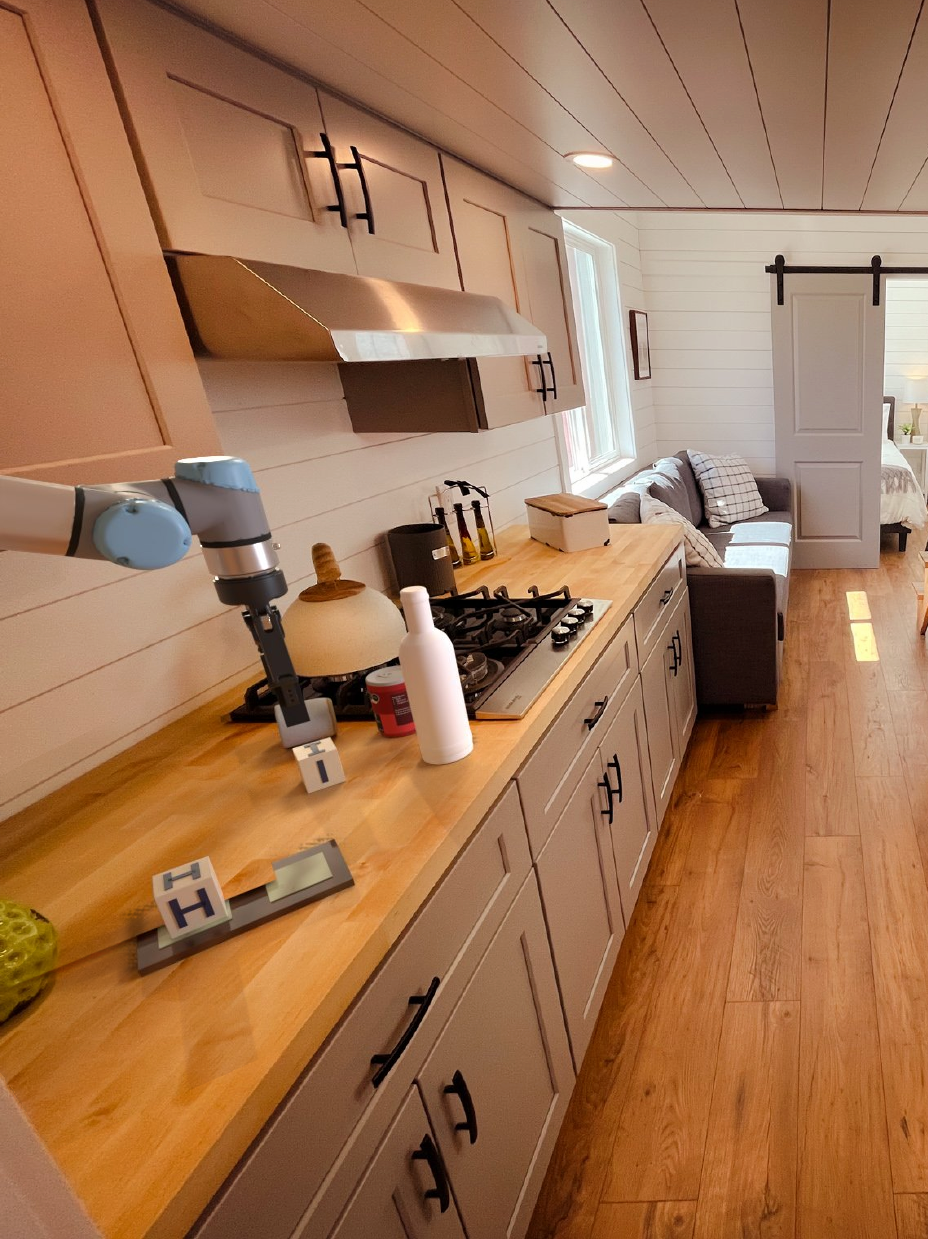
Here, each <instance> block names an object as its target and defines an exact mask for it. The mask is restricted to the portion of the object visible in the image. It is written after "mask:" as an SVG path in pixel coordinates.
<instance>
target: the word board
mask: <svg viewBox="0 0 928 1239" xmlns="http://www.w3.org/2000/svg"><path fill="white" fill-rule="evenodd" d="M271 866H272V869H273V872H274V876H275V878H276V879H273V880H271V881H269V882H266V883H264V884H261V885H258V886H256V887H254V888H251V889H249V890H246V891H244V892H241V893H239V894H237V895H234V896H231V897H229V898H227V899H224V900H225V905H226V910H227V914H228V916H227V917H224V918H222V919H219V920H217V921H215V922H212V923H210V924H207V925H205V926H202V927H200V928H198V929H195V930H193V931H190V932H188V933H186V934H183V935H181V936H178V937H176V938H174V939H171V937H170V935H169V933H168V930H167V928H166V926H165V923H163V924H162V925H159V926H157V927H154V928H151V929H149V930H147V931H144V932H142V933H139V934H137V935H135V937H136V938H135V939H136V960H137V972H138V974H139V976H140V978H143V977H145V976H148V975H150V974H153V973H154V972H156V971H159V970H161V969H163V968H166V967H168V966H171V965H173V964H175V963H178V962H179V961H183V960H184V959H187V958H189V957H191V956H194V955H196V954H198V953H201V952H203V951H205V950H207V949H209V948H212V947H214V946H217V945H219V944H221V943H223V942H226V941H228V940H231V939H232V938H235V937H238V936H240V935H242V934H245V933H248V932H249V931H251V930H254V929H256V928H259V927H261V926H263V925H265V924H267V923H270V922H272V921H275V920H276V919H279V918H281V917H284V916H286V915H289V914H291V913H293V912H295V911H298V910H300V909H302V908H305V907H307V906H309V905H311V904H314V903H316V902H319V901H321V900H323V899H326V898H328V897H330V896H333V895H334V894H335V895H336V894H337V893H339V892H342V891H344V890H346V889H348V888H351V887H353V886H355V885H356V884H355V880H354V877H353V876H352V875H353V874H352V873H351V871H350V869H349V866H348V865H347V862H346V860H345V858H344V856H343V854H342V851H341V850H340V847H339V845H338V843H337V841H336V839H335V838H333V839H330V840H327V841H325V842H322V843H320V844H317V845H315V846H312V847H309V848H307V849H304V850H302V851H299V852H296V853H294V854H290V855H289V856H285V857H283V858H281V859H278V860H276V861H273V862H271Z"/></svg>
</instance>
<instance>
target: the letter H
mask: <svg viewBox="0 0 928 1239" xmlns="http://www.w3.org/2000/svg"><path fill="white" fill-rule="evenodd" d="M151 882H152V894H153V900H154V902H155V905H156V907H157V910H158V912H159V915H160V917H161V919H162V921H163V924H165V926H166V928H167V930H168V933H169V935H170V937H171V939H174V938H176V937H178V936H181V935H183V934H186V933H188V932H190V931H193V930H195V929H198V928H200V927H202V926H205V925H207V924H210V923H212V922H215V921H217V920H219V919H222V918H224V917H227V916H228V914H227V910H226V905H225V900H226V899H225V898H224V893H223V890H222V888H221V885H220V882H219V878H218V877H217V874H216V872H215V869H214V866H213V864H212V862H211V859H210V856H209V855H208V856H204V857H201V858H199V859H196V860H193V861H190V862H187V863H184V864H182V865H179V866H177V867H173V868H170V869H168V870H165V871H163V872H162V871H161V872H159V873H157V874H155V875H152V876H151Z"/></svg>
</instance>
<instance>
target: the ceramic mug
mask: <svg viewBox="0 0 928 1239" xmlns="http://www.w3.org/2000/svg"><path fill="white" fill-rule="evenodd" d="M304 702H305V705H306V708H307V711H308V714H309V718H310V721H309V722H305V723H302V724H298V725H295V726H291V727H288V728H287V726H286V723H285V720H284V717H283V714H282V711H281V708H280V705H279V704H276V705H274V717H275V720H276V725H277V729H278V735H279V737H280V741H281V746H282V748H283V749H289V748H292V747H293V748H294V747H298V746H302V745H305V744H309V743H313V742H316V741H319V740H323V739H326V738H329V737H330V738H331V737H332V736H334V735H335V736H336V734H338V732H339V726H338V722H337V718H336V713H335V710H334V705H333V701H332V699H331V698H329V697H316V698H312V699H305V700H304Z"/></svg>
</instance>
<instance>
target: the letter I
mask: <svg viewBox="0 0 928 1239" xmlns="http://www.w3.org/2000/svg"><path fill="white" fill-rule="evenodd" d="M292 752H293V756H294V759H295V762H296V766H297V769H298V772H299V776H300V778H301V781H302V783H303V786H304V788H305V790H306V792H307V794H308V795H309V794H312V793H314V792H317V791H321V790H324V789H326V788H329V787H332V786H335V785H338V784H341V783H344V782H346V781H347V779H346V775H345V773H344V768H343V766H342V765H343V764H342V761H341V758H340V754H339V751H338V749H337V747H336V744H335V743H334V741H333V740H332V737H331V736H330V737H327V738H323V739H320V740H315V741H312V742H308V743H305V744H302V745H298V746H295V747H293V748H292Z"/></svg>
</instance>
